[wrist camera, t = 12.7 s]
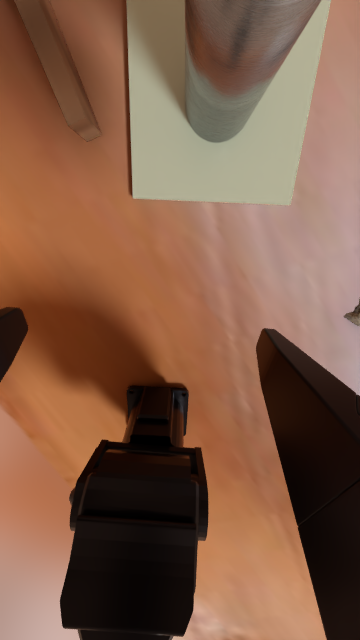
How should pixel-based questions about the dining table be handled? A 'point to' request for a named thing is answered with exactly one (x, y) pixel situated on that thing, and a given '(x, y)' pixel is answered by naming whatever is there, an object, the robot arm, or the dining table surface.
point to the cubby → (58, 66)
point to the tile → (180, 139)
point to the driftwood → (354, 315)
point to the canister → (235, 58)
